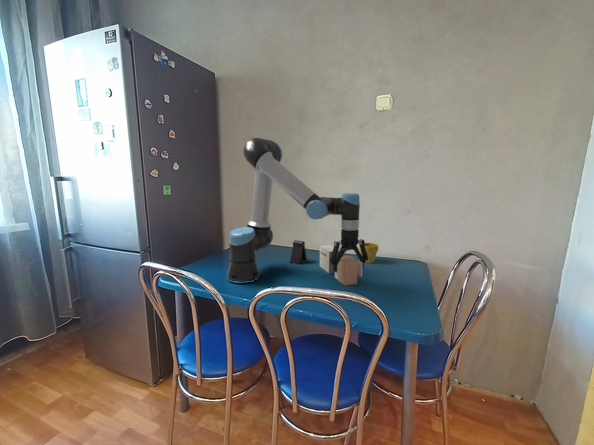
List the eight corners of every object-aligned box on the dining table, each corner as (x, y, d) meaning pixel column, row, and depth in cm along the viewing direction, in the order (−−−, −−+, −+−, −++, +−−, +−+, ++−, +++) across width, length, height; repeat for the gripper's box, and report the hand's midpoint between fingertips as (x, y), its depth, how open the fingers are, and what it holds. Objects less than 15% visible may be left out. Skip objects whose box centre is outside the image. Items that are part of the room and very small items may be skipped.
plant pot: (375, 259, 163) (376, 242, 162) (379, 264, 153) (380, 247, 152) (357, 258, 164) (358, 242, 163) (359, 264, 154) (360, 246, 153)
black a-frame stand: (298, 264, 153) (298, 243, 151) (289, 263, 156) (289, 241, 154) (307, 260, 161) (307, 240, 159) (298, 258, 164) (298, 238, 162)
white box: (329, 273, 139) (329, 251, 138) (319, 266, 151) (319, 246, 149) (340, 272, 141) (340, 250, 140) (330, 265, 153) (330, 245, 151)
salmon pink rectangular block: (344, 285, 124) (345, 261, 122) (336, 279, 132) (337, 256, 130) (357, 283, 126) (357, 260, 124) (348, 277, 134) (348, 255, 132)
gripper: (329, 232, 116) (328, 283, 120) (377, 228, 123) (375, 276, 127) (321, 229, 123) (321, 277, 127) (368, 225, 130) (366, 271, 134)
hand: (348, 277), depth 127 cm, fingers open, 11 cm apart
